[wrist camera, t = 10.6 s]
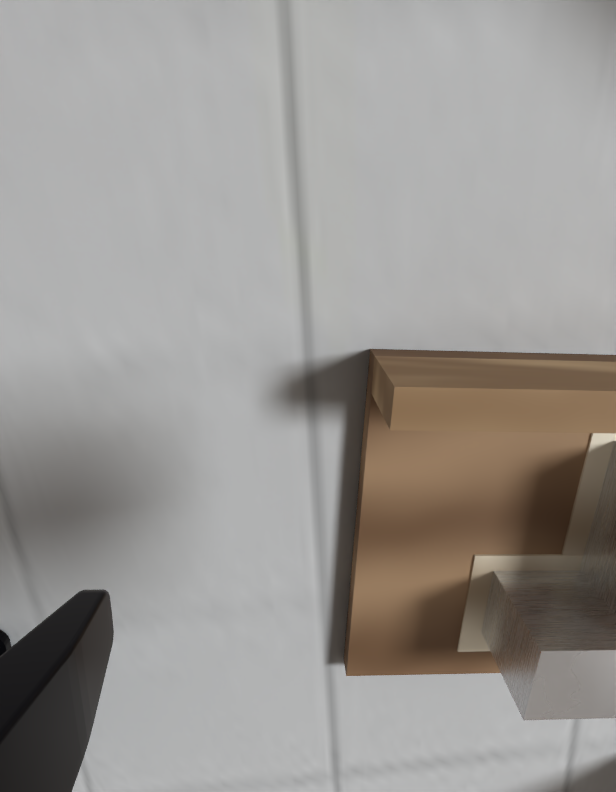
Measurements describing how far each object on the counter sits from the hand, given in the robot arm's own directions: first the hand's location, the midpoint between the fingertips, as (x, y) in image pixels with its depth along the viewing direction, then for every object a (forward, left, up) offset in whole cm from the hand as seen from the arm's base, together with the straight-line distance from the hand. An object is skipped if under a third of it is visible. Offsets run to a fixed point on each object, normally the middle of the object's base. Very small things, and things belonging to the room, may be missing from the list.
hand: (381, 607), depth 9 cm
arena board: (-7, -12, -13) cm, 19 cm away
